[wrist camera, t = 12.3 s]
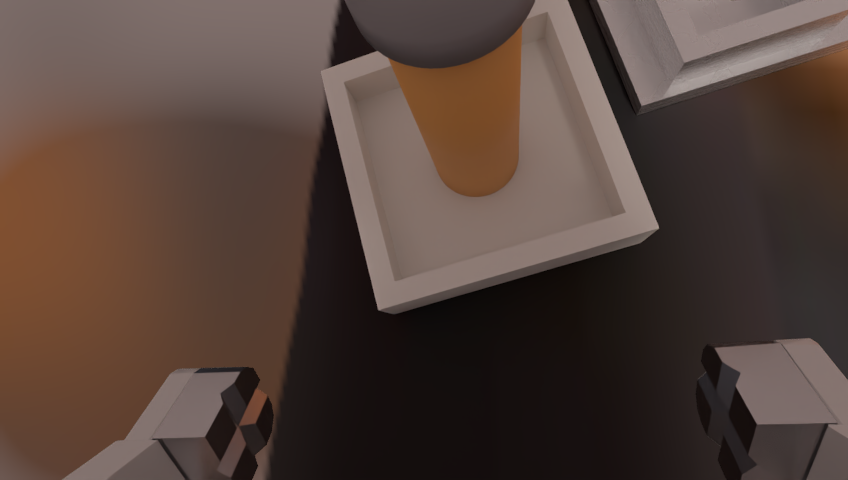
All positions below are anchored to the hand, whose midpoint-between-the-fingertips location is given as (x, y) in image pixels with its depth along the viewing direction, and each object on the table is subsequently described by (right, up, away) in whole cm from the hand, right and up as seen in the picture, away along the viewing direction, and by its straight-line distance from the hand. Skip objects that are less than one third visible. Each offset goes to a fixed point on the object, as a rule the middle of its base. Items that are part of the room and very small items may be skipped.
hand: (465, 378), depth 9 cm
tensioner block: (+13, +16, +16) cm, 26 cm away
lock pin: (+2, +7, +15) cm, 16 cm away
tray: (+2, +6, +16) cm, 17 cm away
